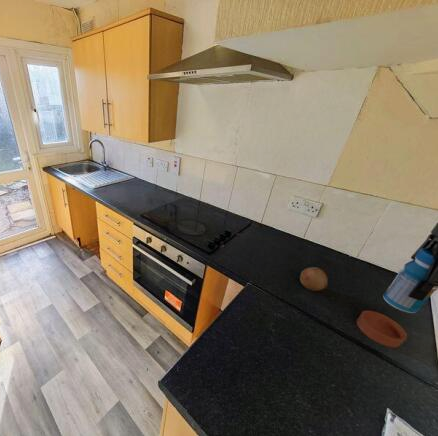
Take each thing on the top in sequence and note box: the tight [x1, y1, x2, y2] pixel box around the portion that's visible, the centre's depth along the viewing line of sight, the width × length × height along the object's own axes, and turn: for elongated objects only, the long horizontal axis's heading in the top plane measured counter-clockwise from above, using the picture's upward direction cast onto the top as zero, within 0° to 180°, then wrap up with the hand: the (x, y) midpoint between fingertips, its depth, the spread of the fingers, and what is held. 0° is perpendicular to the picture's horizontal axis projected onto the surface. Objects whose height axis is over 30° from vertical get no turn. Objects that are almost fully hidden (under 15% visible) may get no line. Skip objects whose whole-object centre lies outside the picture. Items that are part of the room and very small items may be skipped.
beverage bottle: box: [382, 248, 438, 314], centre depth 69 cm, size 8×8×20 cm
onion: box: [299, 266, 329, 292], centre depth 96 cm, size 10×10×10 cm
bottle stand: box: [356, 310, 408, 348], centre depth 79 cm, size 12×12×4 cm
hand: (410, 289), depth 71 cm, fingers closed on beverage bottle, 8 cm apart
